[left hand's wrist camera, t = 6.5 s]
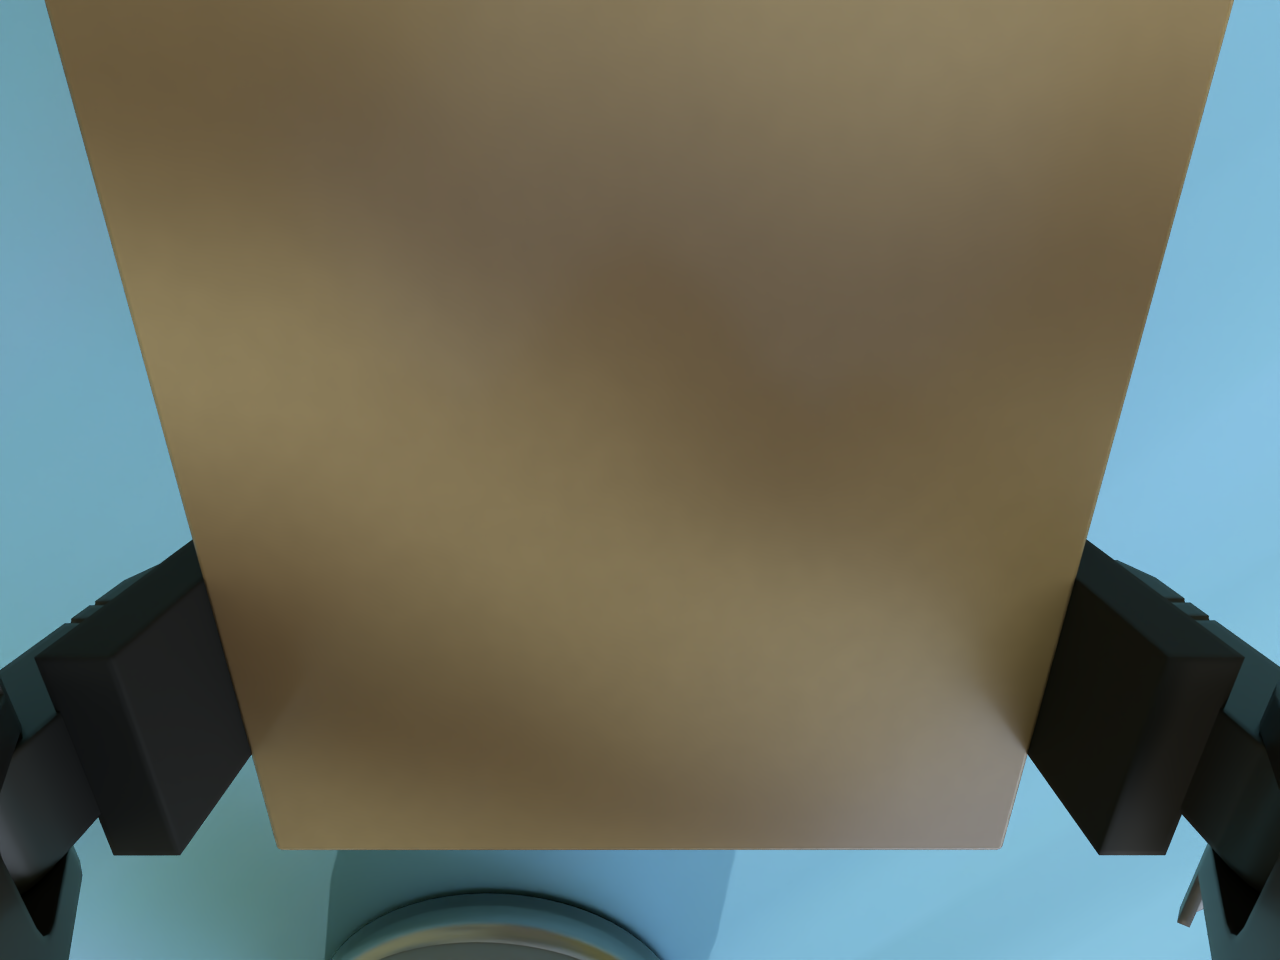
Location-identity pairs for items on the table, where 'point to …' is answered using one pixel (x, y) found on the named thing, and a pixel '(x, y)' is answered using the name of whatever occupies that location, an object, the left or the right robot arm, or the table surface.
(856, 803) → the tan cardboard box
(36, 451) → the table surface
